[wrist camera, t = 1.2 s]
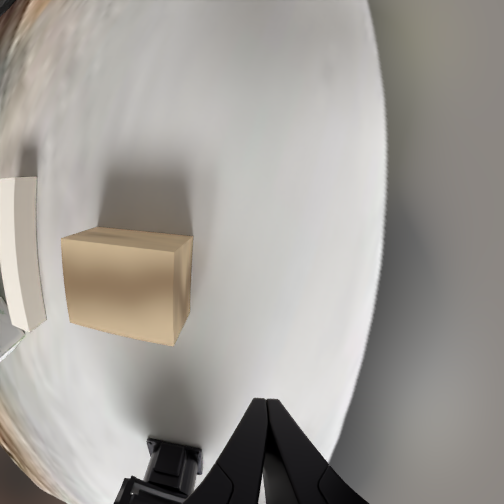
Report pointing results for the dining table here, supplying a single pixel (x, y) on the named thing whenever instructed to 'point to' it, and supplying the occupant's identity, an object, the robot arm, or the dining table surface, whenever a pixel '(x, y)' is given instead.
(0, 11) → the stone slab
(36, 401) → the dining table surface
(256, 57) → the dining table surface
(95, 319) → the oak block
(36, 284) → the plank
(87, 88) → the dining table surface
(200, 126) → the dining table surface
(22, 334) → the syrup box
